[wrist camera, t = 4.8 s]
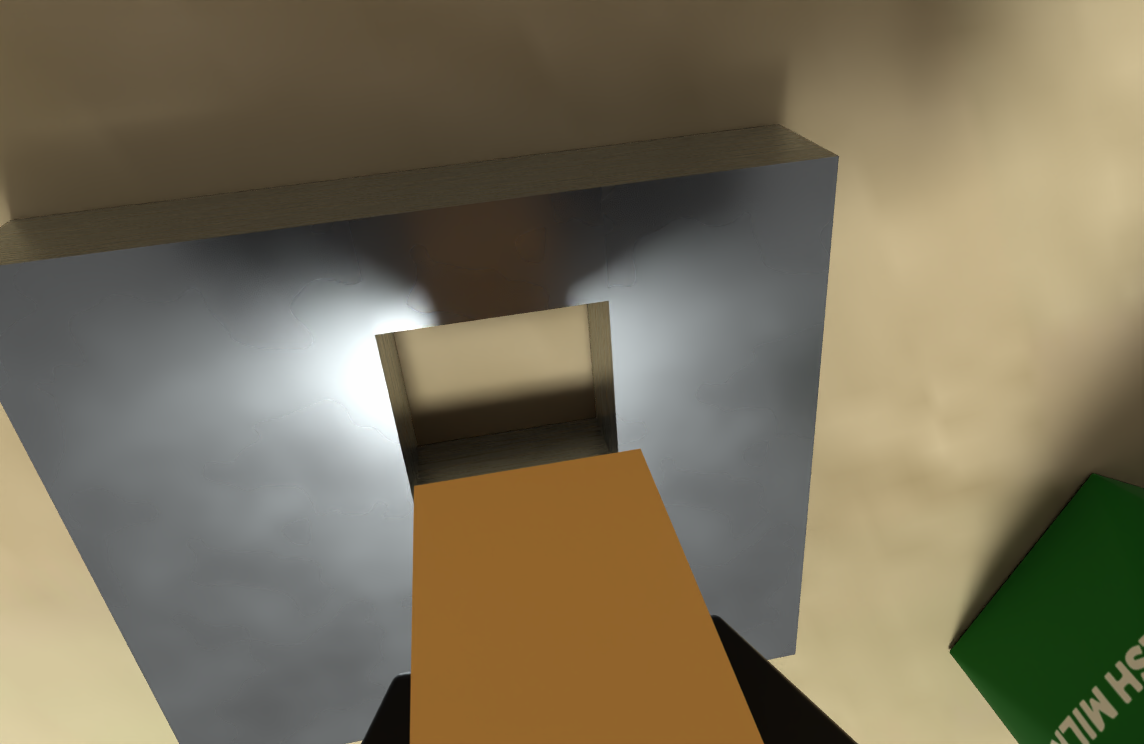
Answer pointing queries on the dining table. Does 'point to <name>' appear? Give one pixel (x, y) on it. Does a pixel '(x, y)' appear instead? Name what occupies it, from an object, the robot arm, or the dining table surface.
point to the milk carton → (1069, 627)
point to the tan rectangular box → (563, 614)
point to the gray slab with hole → (379, 401)
